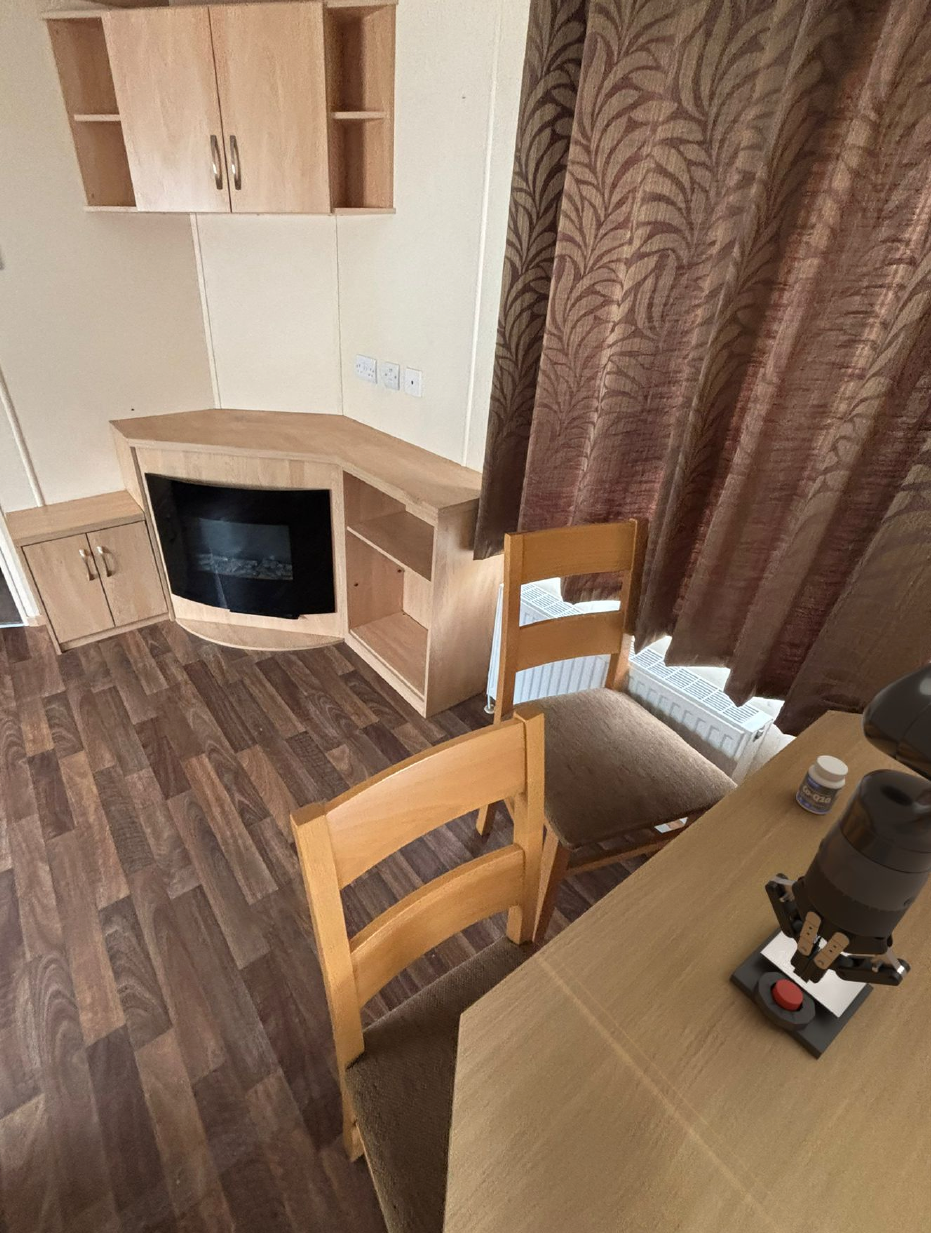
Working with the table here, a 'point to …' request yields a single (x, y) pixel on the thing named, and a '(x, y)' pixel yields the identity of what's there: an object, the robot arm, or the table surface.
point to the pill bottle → (822, 785)
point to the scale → (802, 1024)
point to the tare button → (787, 995)
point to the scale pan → (825, 992)
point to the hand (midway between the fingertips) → (803, 972)
